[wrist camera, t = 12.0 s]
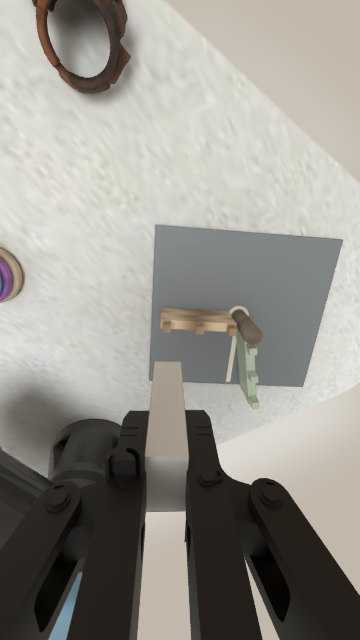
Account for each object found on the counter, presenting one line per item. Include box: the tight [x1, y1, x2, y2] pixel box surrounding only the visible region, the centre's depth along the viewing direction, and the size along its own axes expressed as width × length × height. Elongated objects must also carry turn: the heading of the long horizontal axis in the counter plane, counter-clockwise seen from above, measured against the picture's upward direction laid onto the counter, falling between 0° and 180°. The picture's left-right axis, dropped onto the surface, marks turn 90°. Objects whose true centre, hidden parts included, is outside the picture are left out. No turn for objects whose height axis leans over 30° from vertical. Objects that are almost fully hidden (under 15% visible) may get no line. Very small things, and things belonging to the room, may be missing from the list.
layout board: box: [149, 225, 343, 387], centre depth 40 cm, size 24×26×1 cm
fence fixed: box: [160, 308, 263, 345], centre depth 36 cm, size 13×2×8 cm, turn 86°
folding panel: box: [236, 327, 259, 409], centre depth 38 cm, size 10×1×7 cm, turn 8°
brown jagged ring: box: [32, 0, 131, 93], centre depth 26 cm, size 12×10×8 cm
